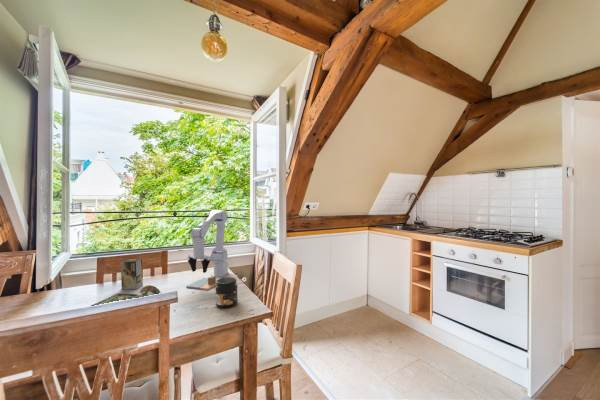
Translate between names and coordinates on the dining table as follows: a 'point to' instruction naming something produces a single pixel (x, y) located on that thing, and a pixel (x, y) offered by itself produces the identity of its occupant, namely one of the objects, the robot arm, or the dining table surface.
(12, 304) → the dining table surface
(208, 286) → the stub
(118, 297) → the olive sloped mound
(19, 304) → the dining table surface
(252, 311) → the dining table surface
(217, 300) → the supplement container
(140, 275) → the coffee box
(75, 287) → the dining table surface
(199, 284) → the board
